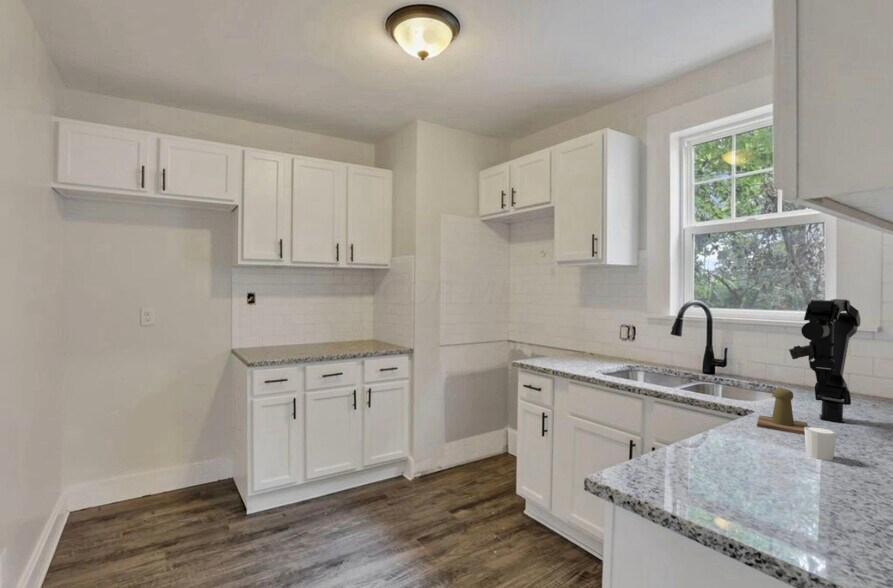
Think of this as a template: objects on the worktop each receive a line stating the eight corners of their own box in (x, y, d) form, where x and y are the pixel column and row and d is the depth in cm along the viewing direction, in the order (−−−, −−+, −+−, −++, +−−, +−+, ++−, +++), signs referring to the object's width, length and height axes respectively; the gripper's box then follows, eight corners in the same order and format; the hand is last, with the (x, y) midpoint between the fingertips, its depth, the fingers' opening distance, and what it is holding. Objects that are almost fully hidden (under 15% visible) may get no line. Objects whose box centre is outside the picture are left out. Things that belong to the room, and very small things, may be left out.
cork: (787, 420, 155) (788, 387, 154) (798, 426, 149) (799, 391, 148) (767, 419, 155) (768, 386, 155) (777, 425, 149) (778, 390, 149)
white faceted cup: (831, 454, 126) (832, 428, 126) (839, 462, 120) (841, 435, 120) (800, 450, 129) (801, 424, 129) (806, 458, 123) (807, 431, 123)
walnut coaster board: (759, 418, 161) (759, 415, 161) (807, 425, 153) (807, 422, 153) (756, 426, 151) (757, 423, 151) (807, 435, 143) (808, 431, 143)
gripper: (791, 334, 165) (789, 379, 165) (791, 338, 150) (789, 387, 150) (832, 337, 158) (830, 383, 158) (836, 342, 143) (834, 393, 143)
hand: (820, 386), depth 153 cm, fingers open, 9 cm apart
